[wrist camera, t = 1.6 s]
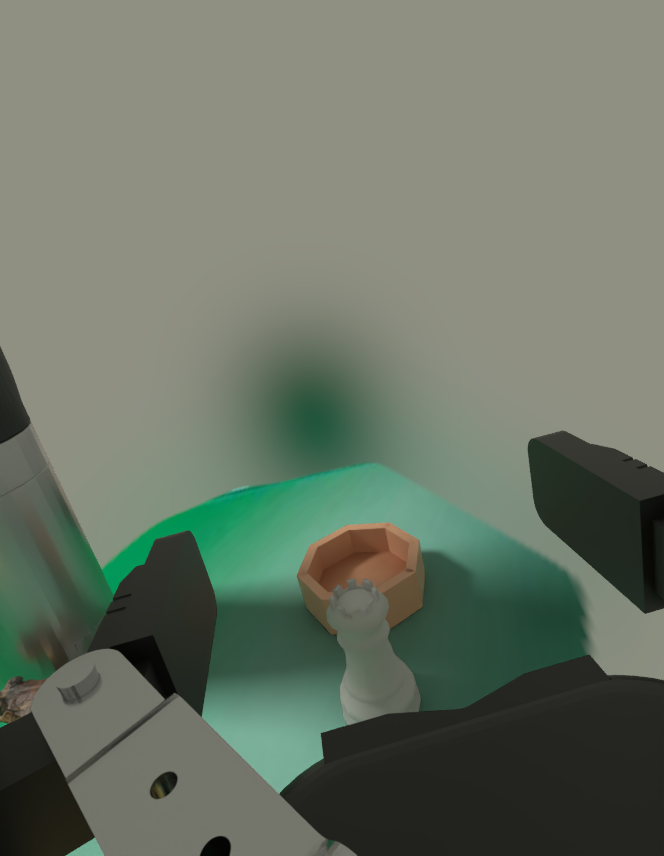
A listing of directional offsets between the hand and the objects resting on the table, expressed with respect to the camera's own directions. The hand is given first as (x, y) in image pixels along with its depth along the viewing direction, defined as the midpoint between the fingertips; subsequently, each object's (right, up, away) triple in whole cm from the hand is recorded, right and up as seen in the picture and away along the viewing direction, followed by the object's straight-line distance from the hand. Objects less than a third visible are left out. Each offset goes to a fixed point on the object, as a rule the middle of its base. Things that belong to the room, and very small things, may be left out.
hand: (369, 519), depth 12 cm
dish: (+2, -10, +26) cm, 28 cm away
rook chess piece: (+2, -14, +17) cm, 22 cm away
